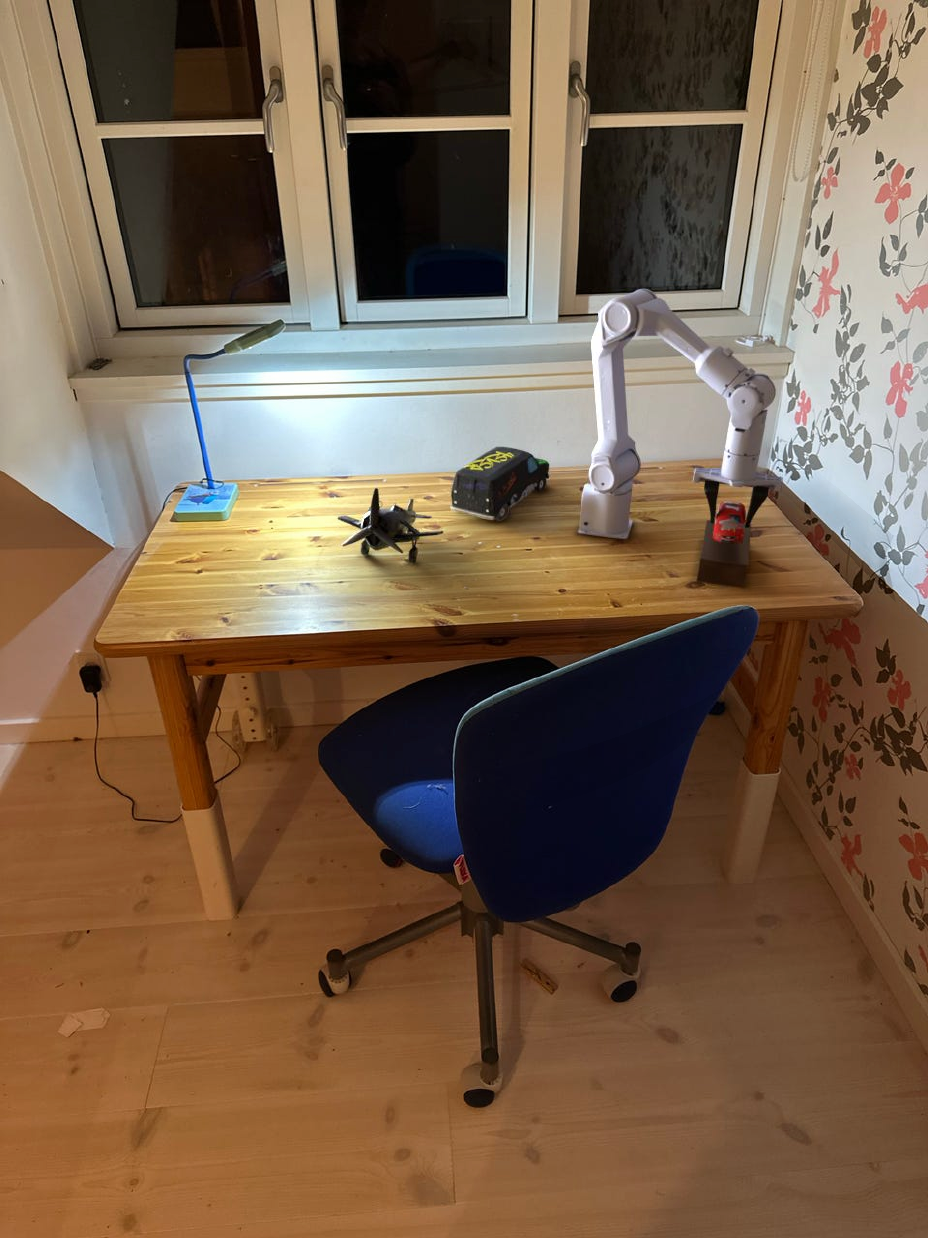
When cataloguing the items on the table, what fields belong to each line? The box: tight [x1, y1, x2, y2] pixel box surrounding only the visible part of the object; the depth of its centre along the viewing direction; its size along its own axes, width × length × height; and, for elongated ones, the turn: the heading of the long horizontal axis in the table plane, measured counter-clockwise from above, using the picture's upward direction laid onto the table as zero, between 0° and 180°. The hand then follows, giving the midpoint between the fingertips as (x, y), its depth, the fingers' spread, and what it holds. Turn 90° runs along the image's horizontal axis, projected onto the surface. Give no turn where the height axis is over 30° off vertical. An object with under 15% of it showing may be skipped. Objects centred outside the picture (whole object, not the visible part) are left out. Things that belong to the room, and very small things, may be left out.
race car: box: [713, 500, 747, 544], centre depth 147 cm, size 13×5×4 cm, turn 160°
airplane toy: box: [337, 487, 444, 565], centre depth 153 cm, size 20×19×15 cm
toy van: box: [450, 446, 551, 522], centre depth 174 cm, size 11×25×10 cm, turn 148°
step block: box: [696, 519, 752, 588], centre depth 151 cm, size 8×16×4 cm, turn 162°
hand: (729, 523), depth 148 cm, fingers closed on race car, 5 cm apart
